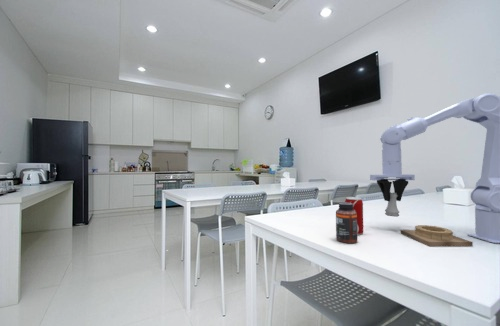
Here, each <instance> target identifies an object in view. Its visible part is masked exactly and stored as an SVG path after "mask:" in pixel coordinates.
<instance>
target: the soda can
mask: <svg viewBox="0 0 500 326" xmlns="http://www.w3.org/2000/svg"><path fill="white" fill-rule="evenodd" d="M344 202H347V203H352V204H353V210H354V211H356V213H357V236H360V235H362V234H364V202H363V199H362V197H353V196H351V197H350V196H349V197H345V201H344Z"/></svg>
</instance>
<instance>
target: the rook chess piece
mask: <svg viewBox="0 0 500 326" xmlns="http://www.w3.org/2000/svg"><path fill="white" fill-rule="evenodd" d="M397 196H398V195H397V193H394V192H391V191H390V201H387V206H386V208H385V210H384V214H385V216H388V217H396V218H397V217H399V216H400V214H399V213H400V210H399V208H398V206H397V202H398V201H397V200H396V198H397Z"/></svg>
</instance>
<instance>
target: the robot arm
mask: <svg viewBox="0 0 500 326" xmlns="http://www.w3.org/2000/svg"><path fill="white" fill-rule="evenodd" d="M451 118H455V119H462V118H463V119H465V120H467V121H470V122H473V123H477V124H479V125H481V126H482V127H483V128H485V129H486V132H485V133H486V134H485V141H484V142H485V143H484V151H483V158H482V165H481V173H480V178H479V179H478V180H477V181H476V183H475V187H474V189H473V190H472V191H471V193H470V200H471V202H473V204H474V205H475V206H474V218H475V219H474V222H475V223H474V224H475V225H474V227H475V233H467V236H470V237H472V238H476V239H479V240H482V241H485V242H489V243H492V244H500V95H498V94H496V93H492V92H491V93H489V92H487V93H482V94H481V95H479V96H477V97H476V98H475V96H474V97H471V98H468V99H465V100H462V101H460V102H457V103H455V104H452V105H450V106H448V107H446V108H443V109H442V110H439V111H437V112H434V113H433V114H431V115H428V116H426V117H423V118H422V117H420V116H419V117H418V116H416V117H414V118H413V117H409V118H408V119H407V121H405V122H401V123H400V124H394V125H393V126H390V127H389V128H387V129H385V131H383V133H382V134H381V136H380V138H379V139H380V140H379V141H380V142H381V143H382V146H381V147H382V150H381V152H382V153H381V159H382V161H381V163H382V174H369V180H370V181H376V183H377V185H378V186H379V189H380V191H381V193H382V196H383V201H385V202H388V201H390V192H391V188H392V185H393V191H394V192H393V193H397V195H398V196H397V198H396V200H397V201H396V202H401V201H402V198H403V194H404V191H405V189H406V188H407V186H408V185H409V181H415V179H416V178H415V174H402V173H403V172H402V171H403V170H402V169H403V168H402V149H401V148H402V147H401V146H402V145H401V144H402V143H401V142H402V141H406V140H409V139H411V138H414V137H416V136H418V135H421V134H424V133H425V132H426V131H427V128H428V127H430V126H432V125H436V124H438V123H440V122H444V121H445V120H448V119H451Z"/></svg>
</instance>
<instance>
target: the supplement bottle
mask: <svg viewBox="0 0 500 326" xmlns="http://www.w3.org/2000/svg"><path fill="white" fill-rule="evenodd" d="M335 233H336V234H335V236H336V240H337V241H338V242H341V243H343V244H344V243H345V244H354V243H357V242H358V239H359V238H358V235H357V213H356V211H354V210H353V204H352V203H347V202H345V201H344V202H339V203H338V209H336V211H335Z"/></svg>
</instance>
